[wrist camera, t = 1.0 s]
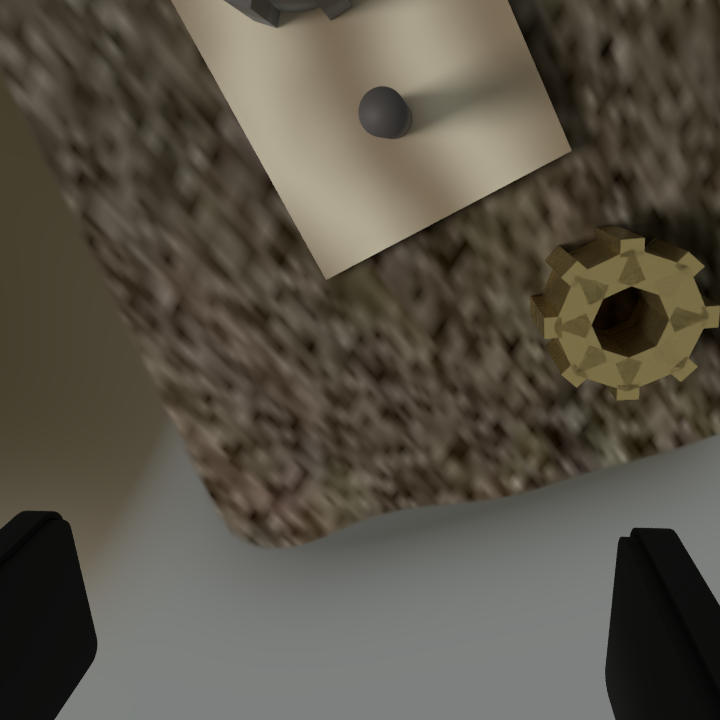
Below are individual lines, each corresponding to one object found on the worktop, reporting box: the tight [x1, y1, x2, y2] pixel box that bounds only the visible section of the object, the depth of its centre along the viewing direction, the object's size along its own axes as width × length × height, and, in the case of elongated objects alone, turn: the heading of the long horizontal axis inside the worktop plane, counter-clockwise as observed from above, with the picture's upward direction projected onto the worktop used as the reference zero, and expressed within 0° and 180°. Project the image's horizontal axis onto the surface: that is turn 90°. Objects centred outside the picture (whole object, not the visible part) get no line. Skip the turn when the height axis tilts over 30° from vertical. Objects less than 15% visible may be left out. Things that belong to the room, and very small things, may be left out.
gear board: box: [171, 0, 572, 280], centre depth 23 cm, size 12×18×7 cm, turn 28°
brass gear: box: [530, 226, 720, 400], centre depth 27 cm, size 7×7×4 cm
